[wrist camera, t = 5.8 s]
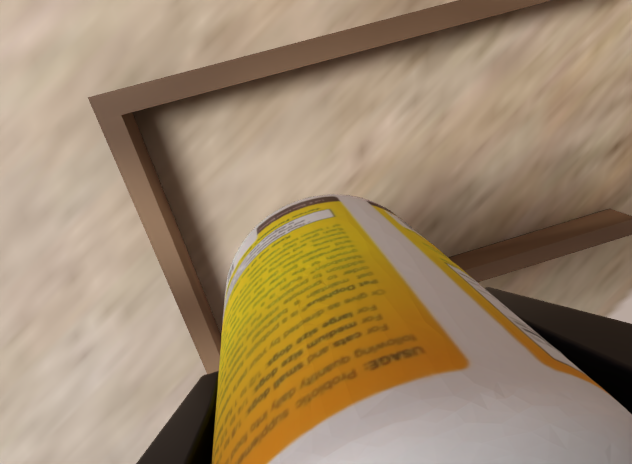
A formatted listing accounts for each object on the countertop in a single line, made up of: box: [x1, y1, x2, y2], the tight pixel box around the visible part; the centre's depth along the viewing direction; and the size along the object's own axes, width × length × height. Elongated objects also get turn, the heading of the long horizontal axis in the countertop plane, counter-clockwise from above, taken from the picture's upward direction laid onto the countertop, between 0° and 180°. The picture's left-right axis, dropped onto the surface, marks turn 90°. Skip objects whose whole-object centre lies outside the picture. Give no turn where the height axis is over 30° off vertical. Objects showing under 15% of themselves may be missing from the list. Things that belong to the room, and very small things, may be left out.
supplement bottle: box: [212, 194, 632, 464], centre depth 7 cm, size 6×6×10 cm
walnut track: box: [88, 0, 632, 374], centre depth 19 cm, size 18×21×2 cm
